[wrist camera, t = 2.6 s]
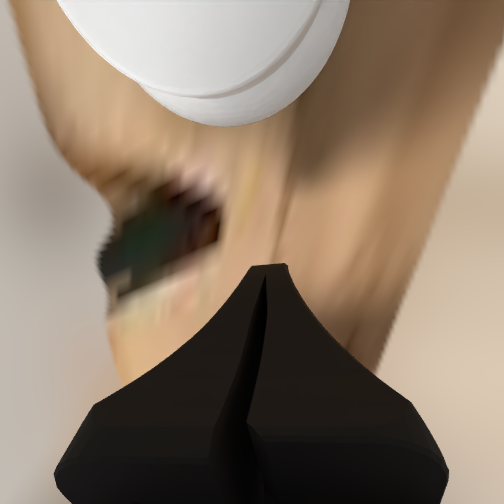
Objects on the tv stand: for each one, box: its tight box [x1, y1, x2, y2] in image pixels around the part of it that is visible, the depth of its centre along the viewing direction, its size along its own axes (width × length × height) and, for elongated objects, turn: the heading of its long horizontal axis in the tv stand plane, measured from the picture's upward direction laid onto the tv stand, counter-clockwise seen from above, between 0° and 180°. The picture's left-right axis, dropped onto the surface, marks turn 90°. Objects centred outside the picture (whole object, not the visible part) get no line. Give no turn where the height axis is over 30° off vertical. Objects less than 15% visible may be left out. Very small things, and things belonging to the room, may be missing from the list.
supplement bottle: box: [57, 0, 350, 127], centre depth 8 cm, size 5×5×10 cm
